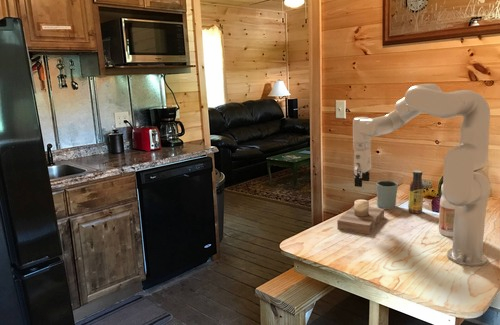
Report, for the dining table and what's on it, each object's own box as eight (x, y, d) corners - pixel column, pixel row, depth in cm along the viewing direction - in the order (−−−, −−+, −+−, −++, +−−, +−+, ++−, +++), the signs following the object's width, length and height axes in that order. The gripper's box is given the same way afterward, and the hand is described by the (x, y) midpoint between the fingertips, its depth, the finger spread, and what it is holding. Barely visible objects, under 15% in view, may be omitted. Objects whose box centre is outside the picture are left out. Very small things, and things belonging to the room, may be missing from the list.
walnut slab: (368, 234, 168) (369, 225, 167) (337, 228, 176) (337, 220, 175) (384, 217, 185) (384, 208, 184) (354, 212, 193) (354, 204, 192)
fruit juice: (433, 230, 167) (436, 166, 161) (451, 227, 170) (455, 163, 164) (450, 239, 159) (454, 171, 152) (469, 235, 161) (474, 168, 155)
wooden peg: (366, 225, 176) (366, 204, 174) (352, 222, 180) (352, 202, 177) (370, 220, 181) (370, 200, 179) (357, 218, 185) (357, 198, 182)
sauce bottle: (413, 214, 186) (415, 173, 181) (405, 210, 192) (406, 170, 187) (425, 212, 187) (427, 172, 183) (416, 208, 193) (418, 169, 189)
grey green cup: (379, 201, 206) (379, 179, 203) (399, 204, 200) (400, 181, 197) (373, 207, 198) (373, 184, 195) (394, 211, 192) (394, 187, 189)
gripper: (363, 149, 163) (364, 189, 167) (376, 142, 177) (376, 179, 181) (346, 149, 167) (346, 188, 171) (360, 141, 181) (360, 178, 185)
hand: (362, 183), depth 176 cm, fingers open, 9 cm apart
